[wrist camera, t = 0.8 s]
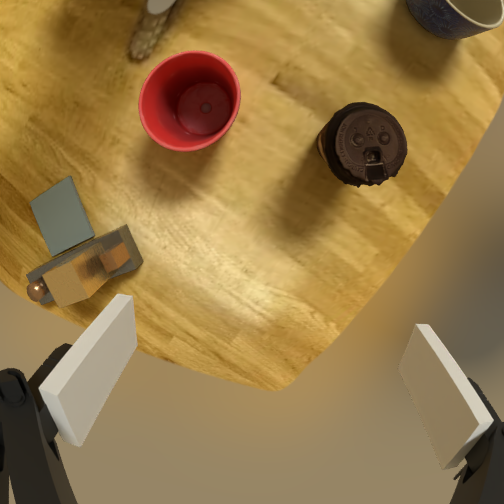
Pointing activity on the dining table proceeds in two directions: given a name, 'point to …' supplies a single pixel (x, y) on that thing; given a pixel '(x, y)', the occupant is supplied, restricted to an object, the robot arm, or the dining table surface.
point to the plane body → (114, 258)
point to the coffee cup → (363, 144)
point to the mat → (61, 217)
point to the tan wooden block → (77, 276)
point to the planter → (457, 16)
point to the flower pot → (189, 101)
